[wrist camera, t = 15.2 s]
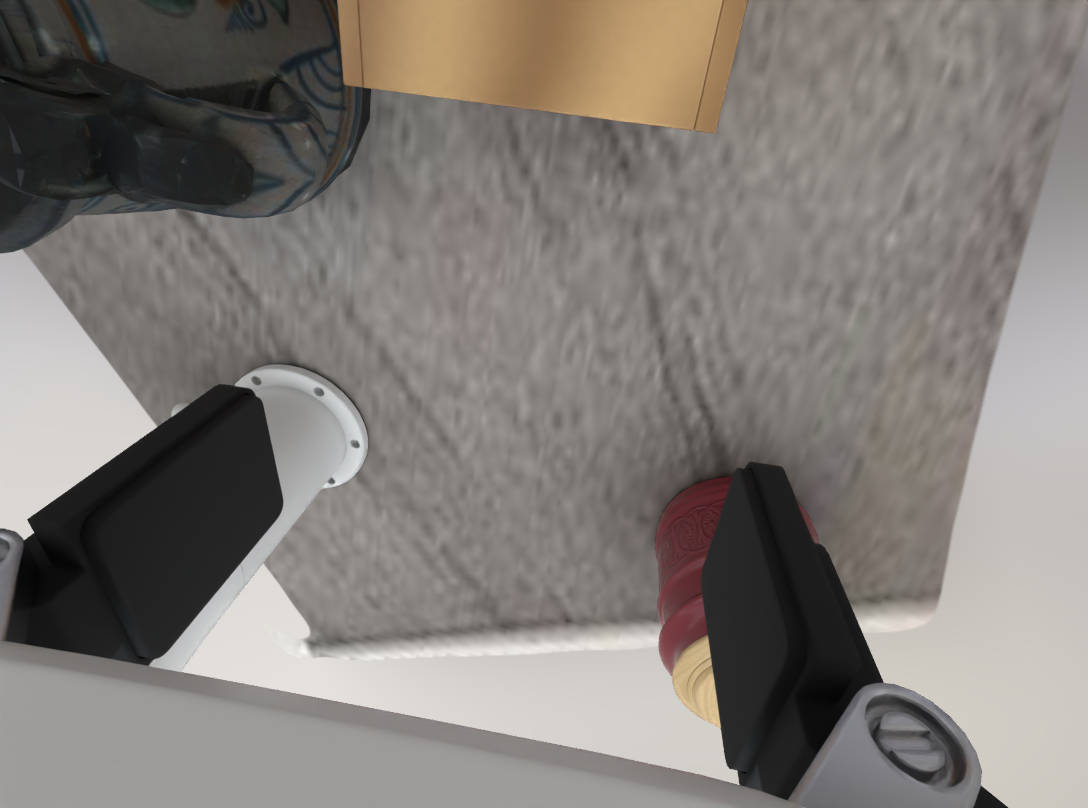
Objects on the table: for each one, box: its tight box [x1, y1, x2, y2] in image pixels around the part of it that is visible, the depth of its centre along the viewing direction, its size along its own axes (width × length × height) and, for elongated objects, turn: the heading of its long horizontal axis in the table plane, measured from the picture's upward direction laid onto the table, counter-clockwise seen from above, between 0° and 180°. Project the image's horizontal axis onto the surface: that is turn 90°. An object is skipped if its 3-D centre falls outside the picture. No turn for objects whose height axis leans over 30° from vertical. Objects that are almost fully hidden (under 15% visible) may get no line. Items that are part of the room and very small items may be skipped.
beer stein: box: [0, 0, 371, 253], centre depth 23 cm, size 16×19×25 cm
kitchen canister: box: [655, 477, 819, 729], centre depth 40 cm, size 13×13×18 cm
